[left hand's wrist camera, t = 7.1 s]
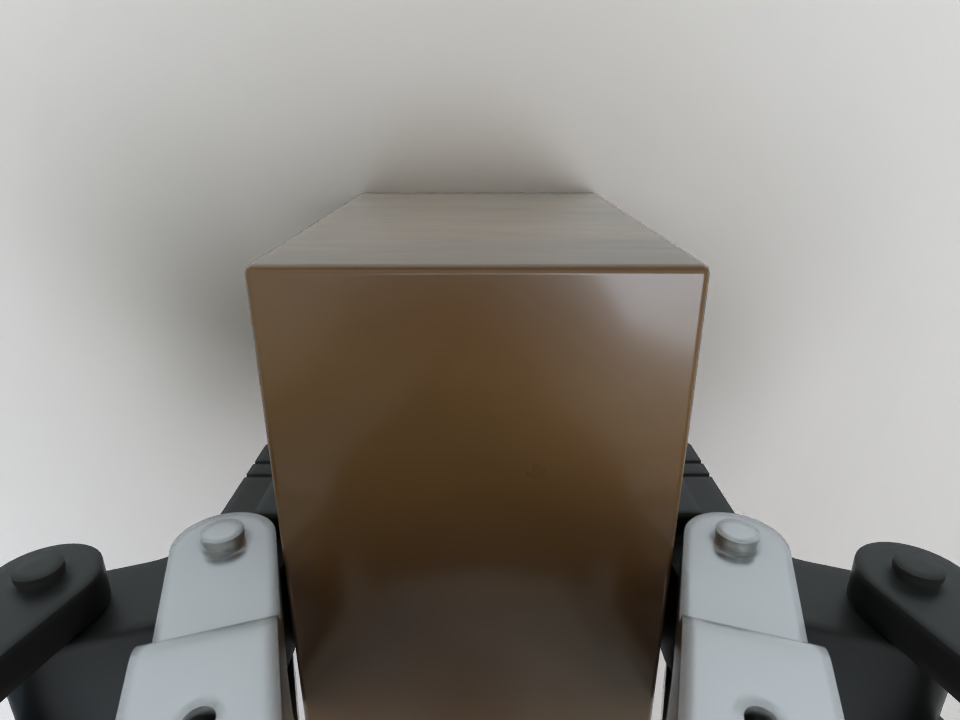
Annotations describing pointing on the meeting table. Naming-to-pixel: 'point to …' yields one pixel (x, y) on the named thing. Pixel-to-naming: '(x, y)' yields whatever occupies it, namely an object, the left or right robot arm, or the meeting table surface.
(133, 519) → the meeting table surface
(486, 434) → the beam
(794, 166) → the meeting table surface
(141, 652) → the left robot arm
